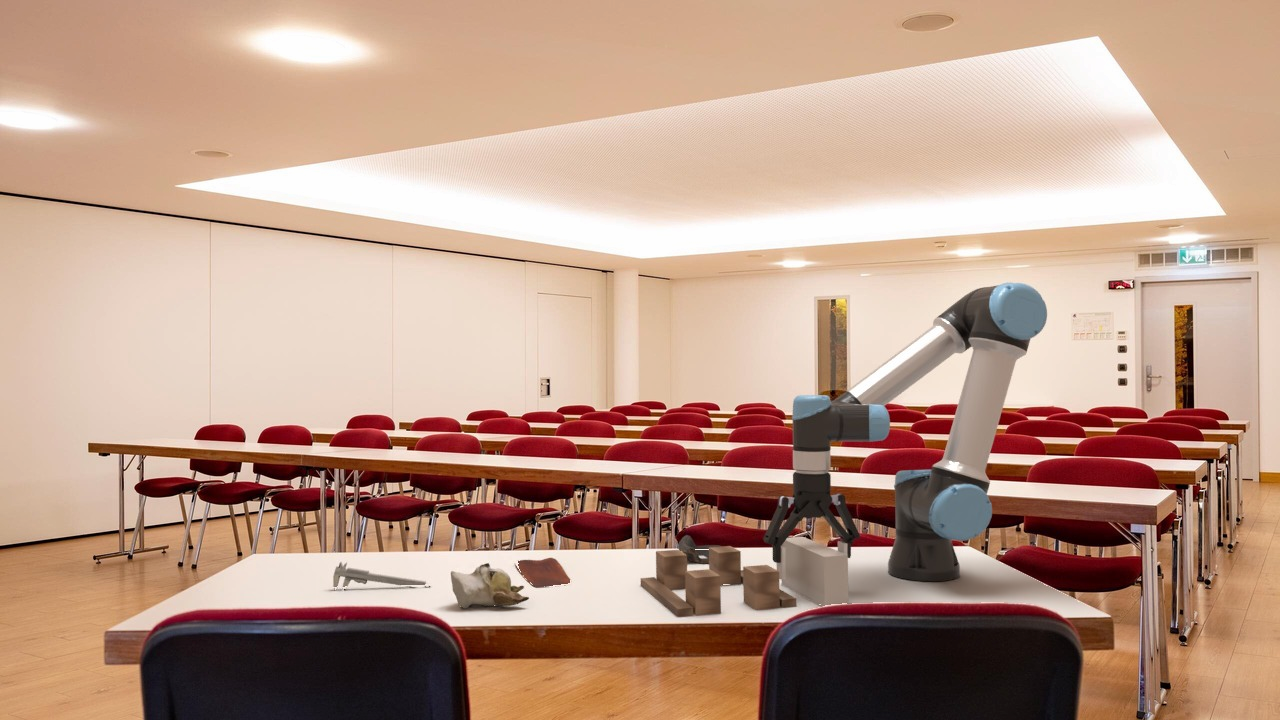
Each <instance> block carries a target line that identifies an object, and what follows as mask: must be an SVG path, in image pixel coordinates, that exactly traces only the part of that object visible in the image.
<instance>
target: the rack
mask: <svg viewBox="0 0 1280 720" xmlns="http://www.w3.org/2000/svg"><path fill="white" fill-rule="evenodd" d="M741 555H742V554H741V551H740V550H739V549H737V548H736V547H733V546H731V545H727V546H722V547H710V548H709V563H708V569H696V570H695V569H694V570H688V555H687V553H683V552H682V551H680V550H679V549H670V550H669V549H668V550H656V551H655V572H656V573H655V575H656V576H655V577H654V576H652V577H640V586H641V587H642V588H643V589H644V590H646V591H647V592H648V593H649V594H650V595H651V596H653V597H654V598H655V599H656V600H657V601H658V602H659V603H661V604H662V605H663V606H665V608H667V609H668V610H669V611H671V613H672V614H674V615H675V616H676V617H677V618H679V617H680V618H681V617H693V616H703V615H704V616H705V615H714V614H721V613H722V605H721V604H722V594H721V592H722V591H721V590H722V589H721V588H722V586H721V585H723V584H738V585H743V604H746V605H747V606H749V607H751V608H752V609H754V610H755V611H759V610H770V609H780V608H791V607H797V598H796V597H794V596H793V595H791V594H789V593H788V592H786V591H784V590H782V589H781V588H780V579H779V571H778V570H777V568H774V567H772V566H770V565H769V564H760V565H746V566H743V567H742V566H741V564H742V561H741ZM742 583H743V584H742ZM674 590H684V591H685V592H684V593H685V600H684V599H683V598H681V596H679V595H678V594H677V593H675V592H674Z"/></svg>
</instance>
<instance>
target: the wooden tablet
mask: <svg viewBox="0 0 1280 720" xmlns="http://www.w3.org/2000/svg"><path fill="white" fill-rule="evenodd" d="M519 560H520V559H519ZM519 560H517V561H518V563H519V564H518V566H519V569H520V571H521V573H522V574H523V575H524V577H525V578H526V579H527V580H528V581H529V582H531V583H532V584H533V585H534V586H536V587H535V588H545V587H544V586H553V585H561V584H568V583H570V580H571V578H570V577H569V576H568V574H567V572H566V571H565V569H564V568H563V566H562V565H561V563H560V562H559V561H558V560H557V559H556V558H553V557H546V558H544V559H539V560H538V559H537V560H536V559H521V560H520V561H519ZM521 573H520V574H521ZM522 574H521V575H522ZM524 577H523V578H524ZM525 578H524V579H525ZM526 579H525V580H526ZM527 580H526V581H527ZM528 581H527V582H528ZM534 586H533V587H534Z"/></svg>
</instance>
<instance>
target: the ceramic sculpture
mask: <svg viewBox="0 0 1280 720" xmlns="http://www.w3.org/2000/svg"><path fill="white" fill-rule="evenodd" d="M450 580H451V584H452V585H451V586H452V592H453V593H454V595H455V598H456V601H457V605H458V606H459V607H460V606H461V607H460V608H462V607H463V608H462V609H467V608H468V607H469V606H472V605H481V606H484V605H485V606H484V607H495V606H494V605H499V606H505V607H511V606H515V605H519V604H521V603H524V602H526V601H528V600H529V599H530V597H529V596H524V595H521V594H520V593H519V592H520V591H522V590H524V589H525V585H519V586H516V585H512V581H511V577H510V576H509V574H508V573H507V572H506V571H505V570H503V569H501V568H491V565H490V563H489V562H487V563H484V564H480V565H479V566H477V567H476V568H475V570H474V571H473V572H472V573H468V574H467V573H461V572H459V571H458V572H457V571H454V570H451V571H450Z"/></svg>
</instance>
